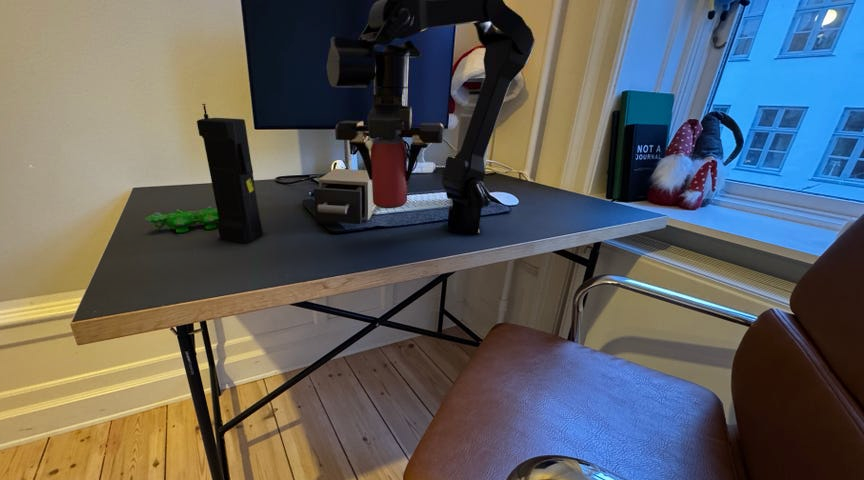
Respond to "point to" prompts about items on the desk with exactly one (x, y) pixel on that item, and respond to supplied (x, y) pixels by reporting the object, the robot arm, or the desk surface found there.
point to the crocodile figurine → (185, 219)
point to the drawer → (340, 203)
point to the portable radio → (231, 177)
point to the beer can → (389, 172)
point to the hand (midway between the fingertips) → (389, 180)
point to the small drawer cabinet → (353, 179)
